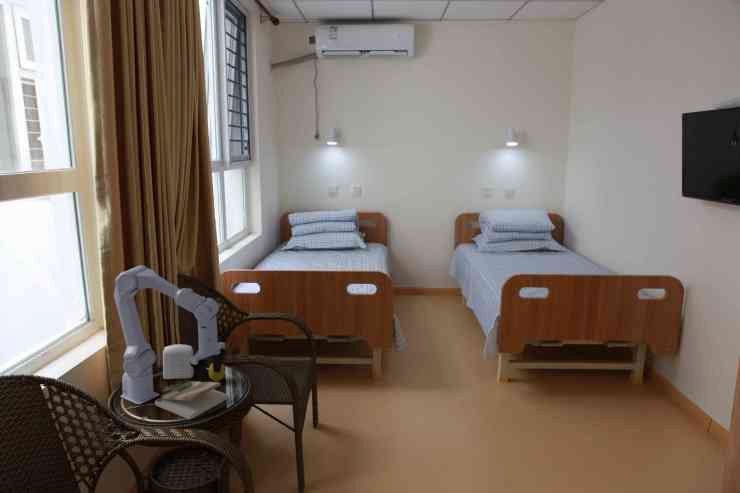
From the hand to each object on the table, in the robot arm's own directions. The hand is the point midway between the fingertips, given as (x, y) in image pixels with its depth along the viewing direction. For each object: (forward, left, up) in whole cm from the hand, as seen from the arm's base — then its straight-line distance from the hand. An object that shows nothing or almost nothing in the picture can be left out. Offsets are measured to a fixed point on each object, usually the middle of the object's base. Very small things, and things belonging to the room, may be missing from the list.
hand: (209, 376), depth 164 cm
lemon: (-10, +13, -10) cm, 19 cm away
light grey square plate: (-6, -2, -10) cm, 11 cm away
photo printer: (-24, +8, -10) cm, 27 cm away
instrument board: (-6, -2, -6) cm, 9 cm away
